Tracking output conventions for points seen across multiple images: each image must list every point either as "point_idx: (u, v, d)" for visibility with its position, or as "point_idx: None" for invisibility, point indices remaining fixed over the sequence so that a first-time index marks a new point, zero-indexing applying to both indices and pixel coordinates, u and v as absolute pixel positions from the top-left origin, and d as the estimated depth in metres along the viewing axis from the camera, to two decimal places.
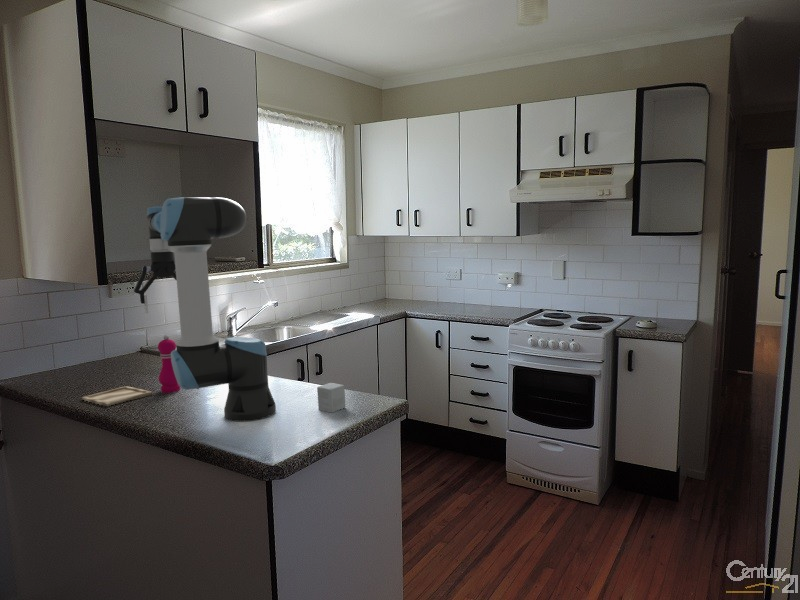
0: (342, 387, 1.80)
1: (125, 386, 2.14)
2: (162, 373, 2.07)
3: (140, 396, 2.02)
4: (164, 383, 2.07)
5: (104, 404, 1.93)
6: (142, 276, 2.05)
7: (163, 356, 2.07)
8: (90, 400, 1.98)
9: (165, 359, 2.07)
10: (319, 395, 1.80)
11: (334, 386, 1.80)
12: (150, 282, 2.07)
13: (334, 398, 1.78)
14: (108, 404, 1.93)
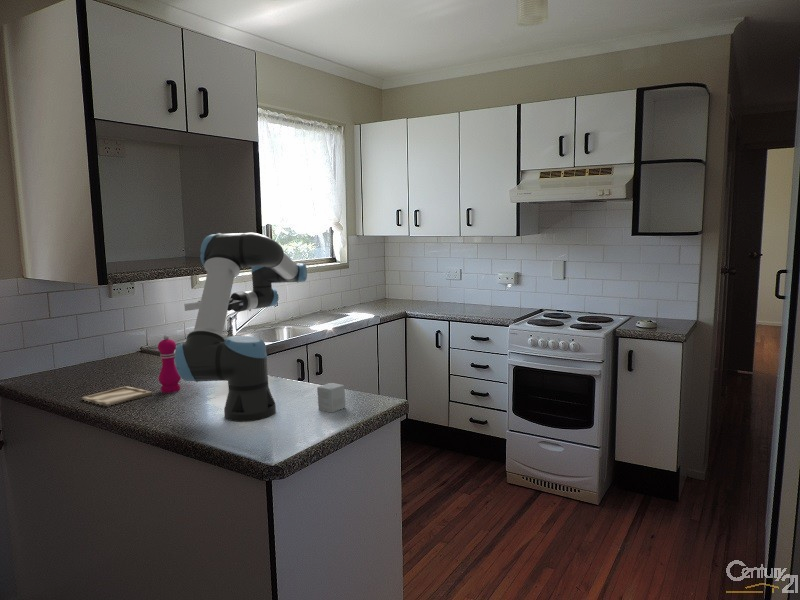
0: (342, 387, 1.80)
1: (125, 386, 2.14)
2: (162, 373, 2.07)
3: (140, 396, 2.02)
4: (164, 383, 2.07)
5: (104, 404, 1.93)
6: None
7: (163, 356, 2.07)
8: (90, 400, 1.98)
9: (165, 359, 2.07)
10: (319, 395, 1.80)
11: (334, 386, 1.80)
12: None
13: (334, 398, 1.78)
14: (108, 404, 1.93)
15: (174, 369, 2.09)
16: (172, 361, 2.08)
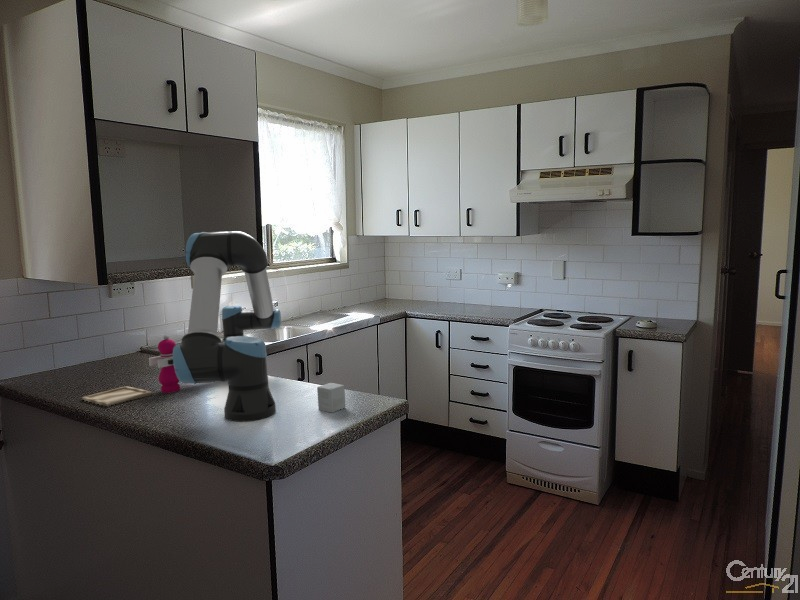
0: (342, 387, 1.80)
1: (125, 386, 2.14)
2: (162, 373, 2.07)
3: (140, 396, 2.02)
4: (164, 383, 2.07)
5: (104, 404, 1.93)
6: None
7: (163, 356, 2.07)
8: (90, 400, 1.98)
9: None
10: (319, 395, 1.80)
11: (334, 386, 1.80)
12: None
13: (334, 398, 1.78)
14: (108, 404, 1.93)
15: (174, 369, 2.09)
16: None
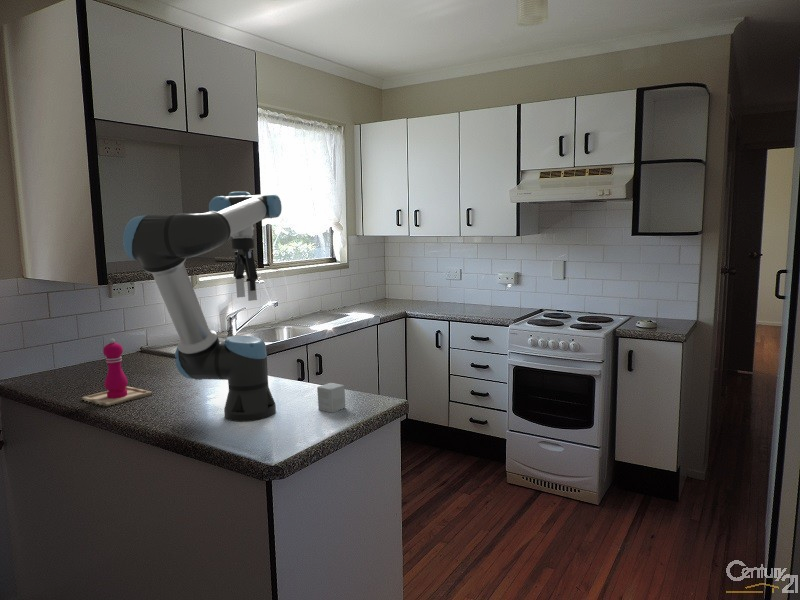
0: (342, 387, 1.80)
1: None
2: (107, 378, 2.00)
3: (140, 396, 2.02)
4: (110, 388, 2.00)
5: (104, 404, 1.93)
6: None
7: (108, 360, 2.00)
8: (90, 400, 1.98)
9: (110, 364, 2.00)
10: (319, 395, 1.80)
11: (334, 386, 1.80)
12: (237, 268, 2.09)
13: (334, 398, 1.78)
14: (108, 404, 1.93)
15: (120, 374, 2.02)
16: (118, 365, 2.01)
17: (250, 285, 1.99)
